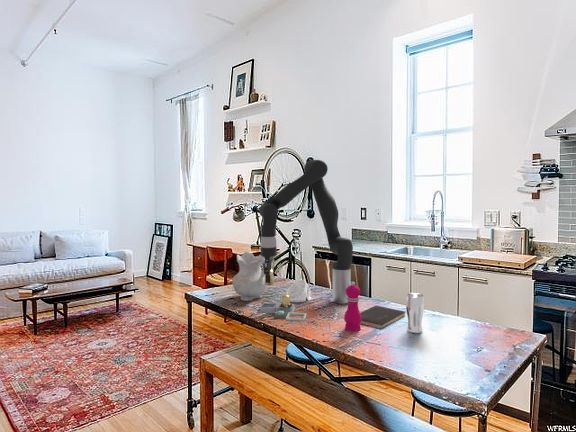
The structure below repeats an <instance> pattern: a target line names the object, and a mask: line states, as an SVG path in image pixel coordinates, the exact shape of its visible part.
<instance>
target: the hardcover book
mask: <svg viewBox="0 0 576 432" xmlns="http://www.w3.org/2000/svg"><path fill="white" fill-rule="evenodd" d="M360 314H361V317H362V321H361V322H360V323H359V324H360V325H361V324H362V325H366V326H370V327H373V326H374V327H373V328H377V327H378V328H379V329H382V328H384V327H386V325H387V326H388V325H390V324H392V323H393V322H395V321H397V320H399V319H400V318H403V317H405V316H404V315H406V314H407V311H404V310H399V309H394V308H392V307H391V308H390V307H384V306H380V305H374V306H372V307H370V308H368V309H364V310H363V311H360ZM402 316H403V317H402Z"/></svg>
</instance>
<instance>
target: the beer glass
mask: <svg viewBox="0 0 576 432" xmlns="http://www.w3.org/2000/svg"><path fill="white" fill-rule="evenodd" d="M424 298H425V295H424V294H422V293H418V292H417V293H416V292H409V293H407V294H406V301H405V302H406V303H405V306H406V309H405V310H406V315H407V328H406V331H407V332H408V333H410V334H422V333H423V325H422V323H423V318H424V317H423V316H424V310H425V300H424Z"/></svg>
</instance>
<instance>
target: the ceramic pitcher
mask: <svg viewBox="0 0 576 432" xmlns="http://www.w3.org/2000/svg"><path fill="white" fill-rule="evenodd" d="M264 260H265V257H263V256H261V254H258V256H254V254H253V252H249V251H245V252H243V254H242V255H240V254H239V253H238V254H236V262H237V263H238V266H239V271H238V272H237V273H236V274H235V275H234V276H233V278H232V283H231V284H232V288H233V290H234V291H235V292H236V293H237V295H240V300H241V301H242V302H245V301H246V302H252V301H253V300H254V299H258V298H262V295H263V294H264V293H266V291H267V289H268V288H269V286H268V285H265V274H264V268H263V263H264ZM261 267H262V269H261Z"/></svg>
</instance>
